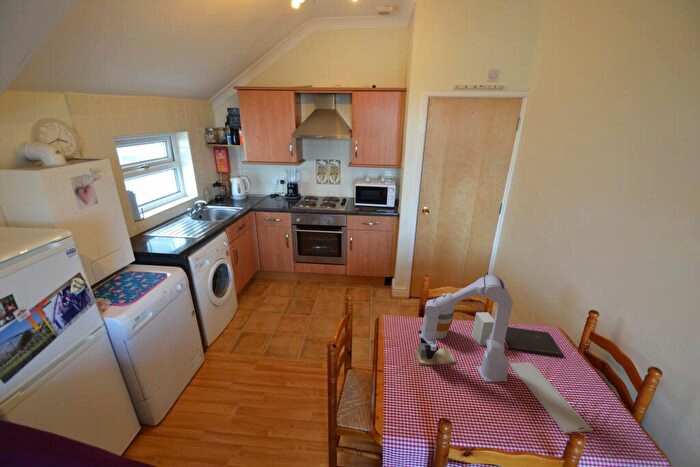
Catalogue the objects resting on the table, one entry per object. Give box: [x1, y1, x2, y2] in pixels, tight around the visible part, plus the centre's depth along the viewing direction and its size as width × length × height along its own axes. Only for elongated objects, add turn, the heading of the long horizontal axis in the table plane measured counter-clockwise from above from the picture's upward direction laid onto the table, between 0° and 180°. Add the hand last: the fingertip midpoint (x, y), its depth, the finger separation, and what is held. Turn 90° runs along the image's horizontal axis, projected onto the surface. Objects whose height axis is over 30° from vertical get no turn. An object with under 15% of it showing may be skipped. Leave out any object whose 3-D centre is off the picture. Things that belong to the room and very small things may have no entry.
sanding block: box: [417, 342, 434, 359], centre depth 132 cm, size 6×4×5 cm, turn 94°
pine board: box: [413, 348, 457, 366], centre depth 133 cm, size 16×8×1 cm, turn 94°
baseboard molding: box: [509, 361, 596, 435], centre depth 116 cm, size 31×3×12 cm
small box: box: [471, 311, 495, 346], centre depth 143 cm, size 8×6×13 cm
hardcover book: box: [504, 326, 564, 359], centre depth 144 cm, size 16×23×2 cm
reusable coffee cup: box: [436, 307, 455, 340], centre depth 147 cm, size 13×13×15 cm
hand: (426, 352), depth 132 cm, fingers open, 7 cm apart
